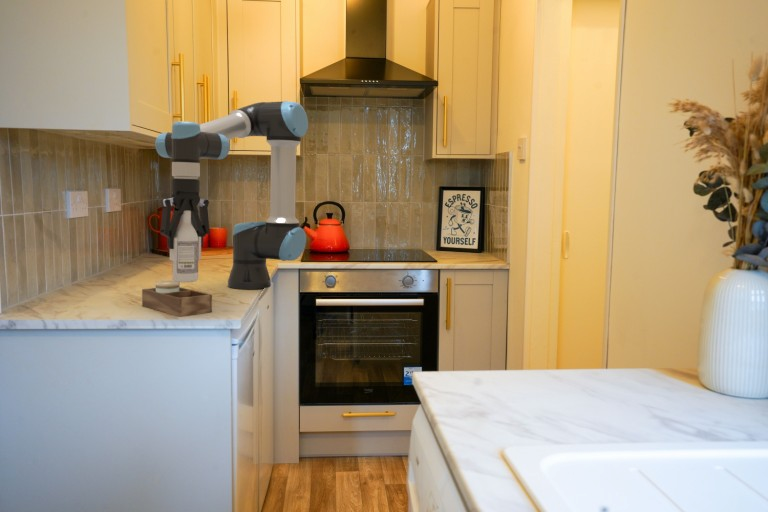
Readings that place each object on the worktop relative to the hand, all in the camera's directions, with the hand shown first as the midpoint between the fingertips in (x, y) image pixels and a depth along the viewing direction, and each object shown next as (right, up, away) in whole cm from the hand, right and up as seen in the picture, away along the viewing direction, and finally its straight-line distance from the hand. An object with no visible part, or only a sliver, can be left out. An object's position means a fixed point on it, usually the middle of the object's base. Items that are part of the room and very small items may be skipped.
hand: (185, 259), depth 187 cm
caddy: (-4, -14, +5) cm, 16 cm away
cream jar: (-8, -14, +8) cm, 18 cm away
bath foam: (0, -6, +1) cm, 6 cm away
